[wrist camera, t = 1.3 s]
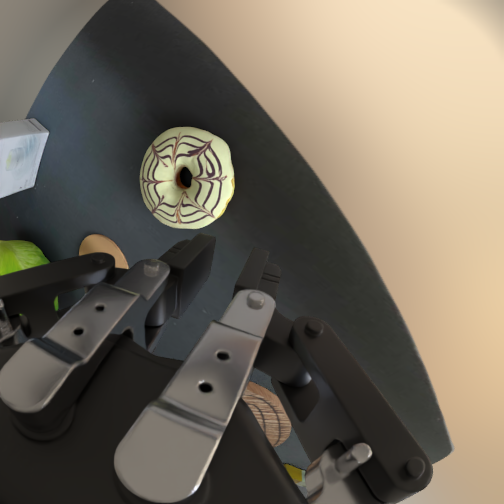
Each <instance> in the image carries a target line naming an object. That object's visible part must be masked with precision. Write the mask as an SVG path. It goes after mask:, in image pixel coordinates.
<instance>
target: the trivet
mask: <svg viewBox="0 0 504 504" xmlns="http://www.w3.org/2000/svg"><path fill="white" fill-rule="evenodd" d="M243 400H244V401H245V402H246V403H247V405H248V406H249V407H250V409H251V410H252V412H253V414H254V415H255V417H256V419H257V421H258V423H259V424H260V426H261V428H262V430H263V431H264V433H265V435H266V436H267V438H268V440H269V442H270V443H271V445H272V447H276V446H278V445H279V444H281V443H283V442H284V441H285V440H286V439H287V438H288V437H289V435H290V431H291V425H292V424H291V422H290V420H289V418H288V416H287V414H286V412H285V410H284V408H283V406H282V404H281V402H280V400H279V398H278V397H277V396H276V395H274V394H273V393H272V392H270V391H269V390H268V389H266V388H263V387H261V386H259V385H257V384H255V383H253V382H251V381H249V384H248V386H247V389H246V391H245V394H244V396H243Z"/></svg>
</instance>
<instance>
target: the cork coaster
mask: <svg viewBox="0 0 504 504" xmlns="http://www.w3.org/2000/svg"><path fill="white" fill-rule="evenodd" d="M94 252H104V253H108V254H111V255H112V256H114V258H115V267H118V268H125V269H129V268H128V264H127V261H126V259H125V257H124V255H123V253H122V252H121V250H120V249H119V247H118V246H117V245H116V244H115V243H114V242H113V241H112V240H110V239H109V238H107V237H106V236H103V235H100V234H92V235H89V236H88V237H86V238H85V239H84V240H83V242H82V243H81V246H80V250H79V256H81V255H85V254H90V253H94Z"/></svg>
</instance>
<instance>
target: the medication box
mask: <svg viewBox="0 0 504 504" xmlns="http://www.w3.org/2000/svg"><path fill="white" fill-rule="evenodd" d="M284 466H285V468H286V470H287V471H288V473H289V474H290V476H291V477H292V479H293V481H294V482H295V484H296V485H300V486H303V487H306V484H305V479H304V477H305V472H306V471H303V470H301V469H298V468H295V467H293V466H290V465H288V464H284Z"/></svg>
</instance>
